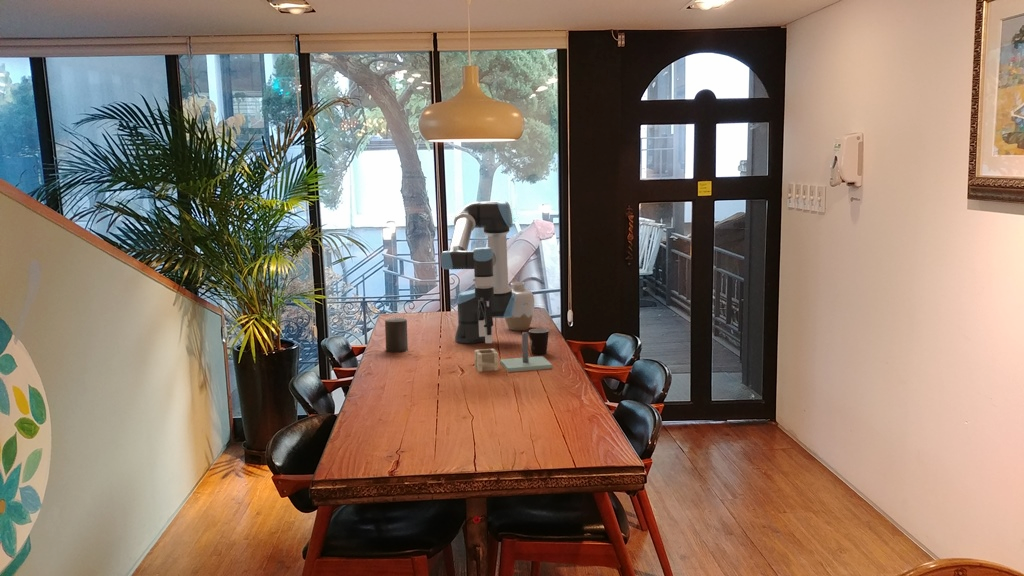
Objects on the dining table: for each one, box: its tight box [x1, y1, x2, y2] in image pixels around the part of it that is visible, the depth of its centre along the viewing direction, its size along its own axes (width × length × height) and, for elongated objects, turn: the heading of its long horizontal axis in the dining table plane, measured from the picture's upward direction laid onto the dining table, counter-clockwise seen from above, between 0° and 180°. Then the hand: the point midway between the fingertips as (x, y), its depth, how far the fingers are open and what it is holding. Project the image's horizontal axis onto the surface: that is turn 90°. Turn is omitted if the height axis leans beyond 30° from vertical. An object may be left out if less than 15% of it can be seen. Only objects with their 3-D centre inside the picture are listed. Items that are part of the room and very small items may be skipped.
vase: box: [504, 281, 535, 332], centre depth 395 cm, size 16×16×23 cm
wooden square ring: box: [474, 348, 499, 373], centre depth 322 cm, size 8×8×7 cm
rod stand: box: [499, 331, 553, 373], centre depth 324 cm, size 15×18×14 cm
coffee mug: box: [528, 328, 550, 356], centre depth 346 cm, size 12×9×10 cm
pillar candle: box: [384, 316, 409, 353], centre depth 358 cm, size 10×10×15 cm
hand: (485, 339), depth 320 cm, fingers open, 13 cm apart
